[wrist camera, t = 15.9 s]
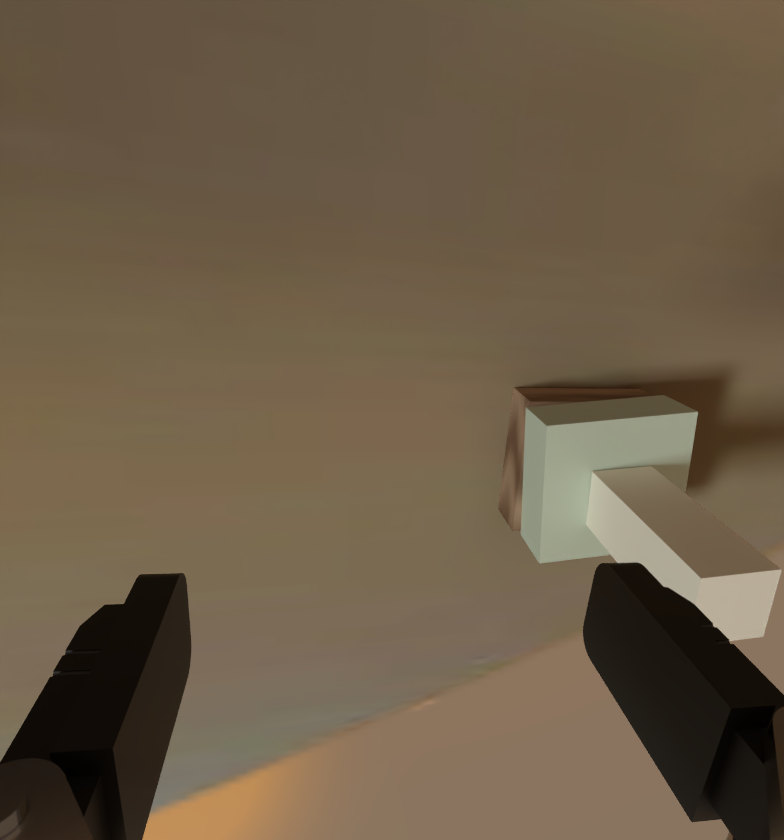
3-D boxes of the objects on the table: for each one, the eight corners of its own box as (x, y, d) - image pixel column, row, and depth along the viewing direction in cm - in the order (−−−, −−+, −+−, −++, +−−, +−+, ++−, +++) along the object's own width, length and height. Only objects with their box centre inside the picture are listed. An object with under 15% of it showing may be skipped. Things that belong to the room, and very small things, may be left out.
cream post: (592, 471, 39) (701, 578, 28) (651, 466, 39) (781, 569, 28) (586, 524, 40) (686, 646, 29) (642, 519, 41) (763, 636, 30)
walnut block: (512, 386, 44) (530, 401, 41) (638, 387, 46) (666, 402, 42) (497, 506, 48) (512, 530, 44) (614, 504, 50) (638, 527, 46)
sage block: (525, 407, 41) (546, 426, 37) (664, 394, 42) (698, 411, 38) (520, 534, 45) (539, 563, 41) (647, 520, 46) (677, 546, 42)
